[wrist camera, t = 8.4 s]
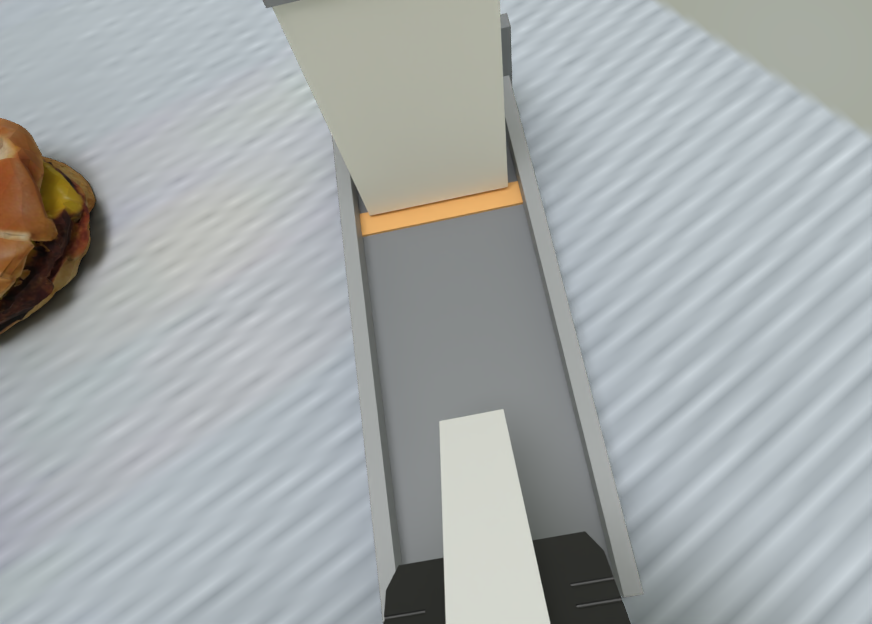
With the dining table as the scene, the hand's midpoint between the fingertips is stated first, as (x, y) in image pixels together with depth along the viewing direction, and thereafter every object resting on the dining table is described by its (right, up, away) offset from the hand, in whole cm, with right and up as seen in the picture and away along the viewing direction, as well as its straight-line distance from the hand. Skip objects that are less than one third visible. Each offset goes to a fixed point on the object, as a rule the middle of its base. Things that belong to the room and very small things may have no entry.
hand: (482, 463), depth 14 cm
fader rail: (0, +3, +7) cm, 8 cm away
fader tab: (-1, +8, +7) cm, 11 cm away
